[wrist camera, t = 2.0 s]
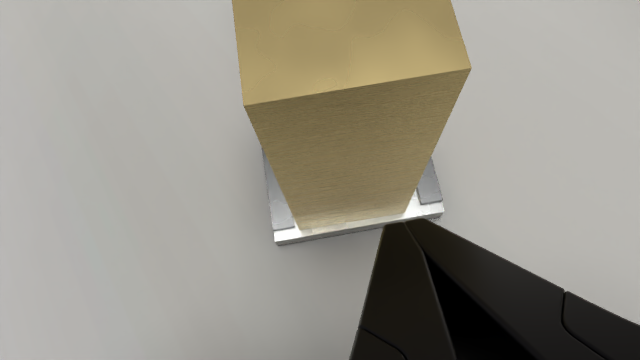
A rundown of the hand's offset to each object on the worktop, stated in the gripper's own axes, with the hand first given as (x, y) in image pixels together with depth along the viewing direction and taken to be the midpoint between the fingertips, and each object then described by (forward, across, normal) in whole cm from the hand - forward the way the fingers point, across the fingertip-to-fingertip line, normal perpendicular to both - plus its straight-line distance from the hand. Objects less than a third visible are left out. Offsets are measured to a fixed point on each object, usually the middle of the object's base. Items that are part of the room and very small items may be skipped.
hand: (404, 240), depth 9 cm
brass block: (+13, 0, +4) cm, 13 cm away
